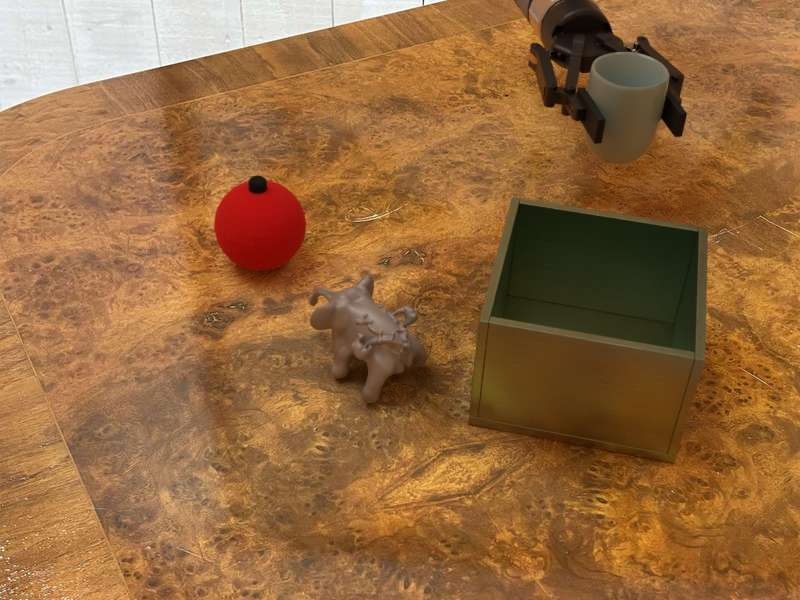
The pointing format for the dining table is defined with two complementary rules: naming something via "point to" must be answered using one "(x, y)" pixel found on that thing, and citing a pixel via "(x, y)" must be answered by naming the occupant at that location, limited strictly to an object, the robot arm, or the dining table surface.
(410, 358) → the clay animal figurine
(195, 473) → the dining table surface
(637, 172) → the dining table surface
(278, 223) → the ornament
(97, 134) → the dining table surface
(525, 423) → the bin
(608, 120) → the cup
